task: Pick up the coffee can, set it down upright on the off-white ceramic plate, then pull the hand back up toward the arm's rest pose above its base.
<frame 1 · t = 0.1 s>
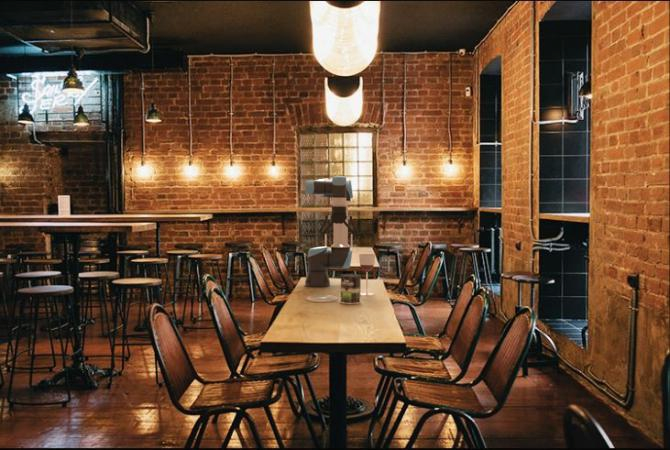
hand: (338, 246, 312), 28 cm above the table, fingers open, 13 cm apart
plate: (322, 299, 313), on the table
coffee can: (350, 302, 306), on the table
wineglass: (366, 294, 332), on the table
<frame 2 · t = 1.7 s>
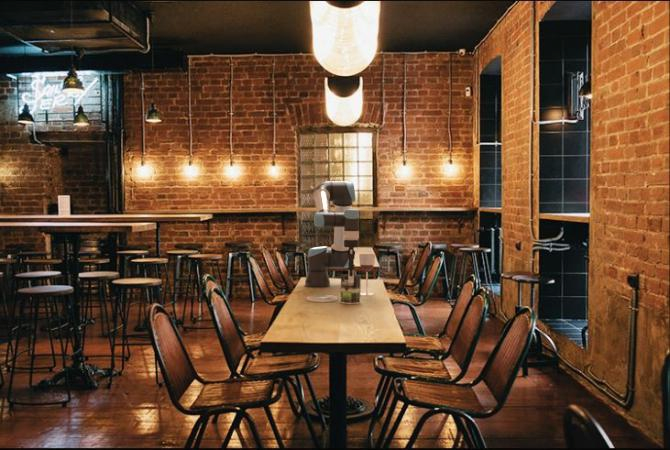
hand: (350, 281, 305), 11 cm above the table, fingers open, 13 cm apart
nothing on the table moved.
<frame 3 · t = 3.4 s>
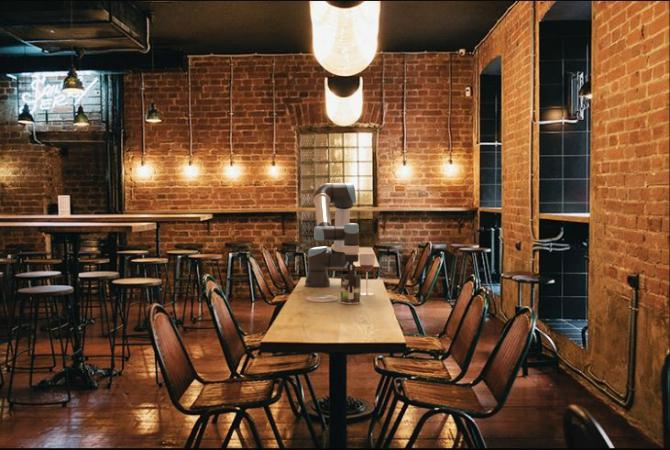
hand: (350, 297, 306), 3 cm above the table, fingers closed on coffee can, 10 cm apart
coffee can: (350, 302, 306), on the table, touching gripper
everything else where it was.
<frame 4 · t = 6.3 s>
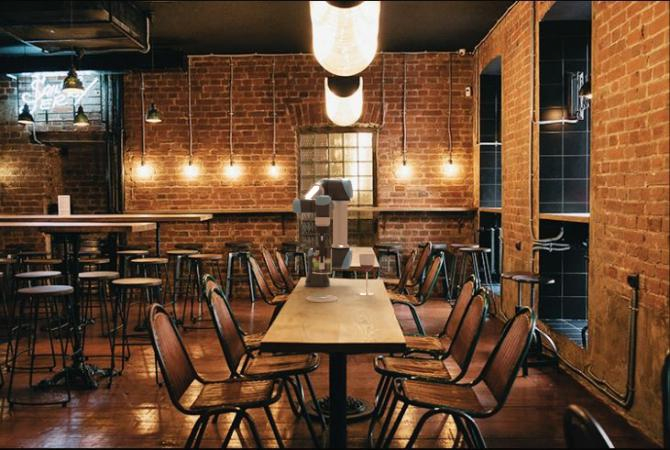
hand: (322, 267, 312), 17 cm above the table, fingers closed on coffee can, 10 cm apart
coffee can: (322, 273, 312), point 14 cm above the table, touching gripper
everything else where it was.
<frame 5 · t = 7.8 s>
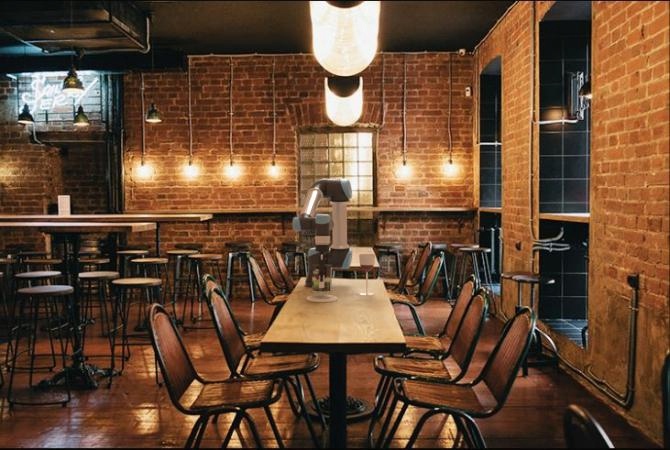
hand: (322, 286, 313), 7 cm above the table, fingers closed on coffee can, 10 cm apart
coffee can: (321, 291, 313), point 4 cm above the table, touching gripper
everything else where it was.
when the fingers open (5 cm above the table, at t = 9.2 s): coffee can drops 1 cm, resting on plate.
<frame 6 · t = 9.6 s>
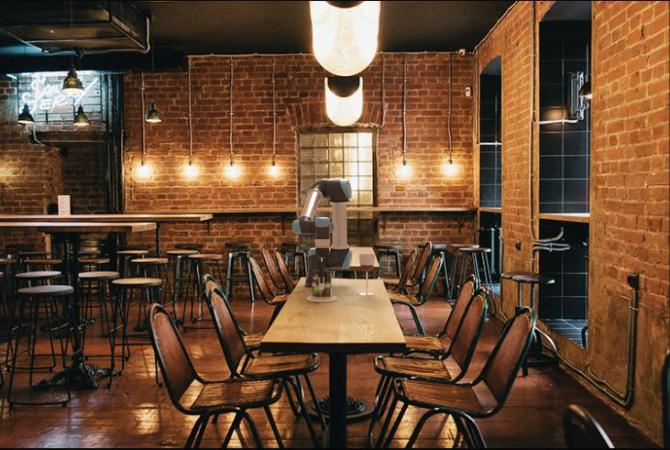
hand: (322, 287, 313), 6 cm above the table, fingers open, 13 cm apart
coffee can: (322, 297, 313), point 1 cm above the table, touching plate
everything else where it was.
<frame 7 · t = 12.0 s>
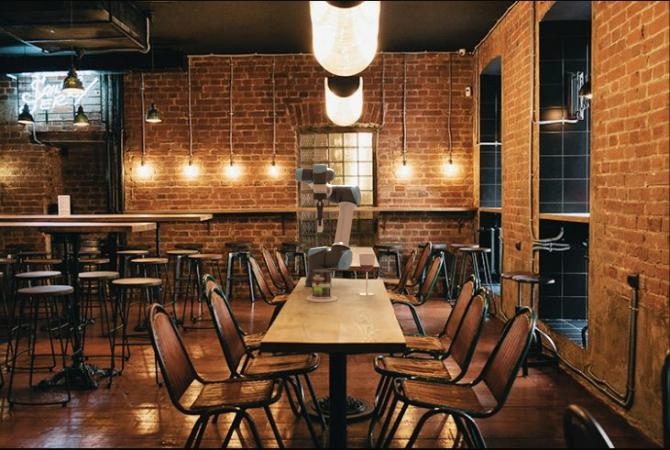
hand: (320, 231, 329), 35 cm above the table, fingers open, 13 cm apart
nothing on the table moved.
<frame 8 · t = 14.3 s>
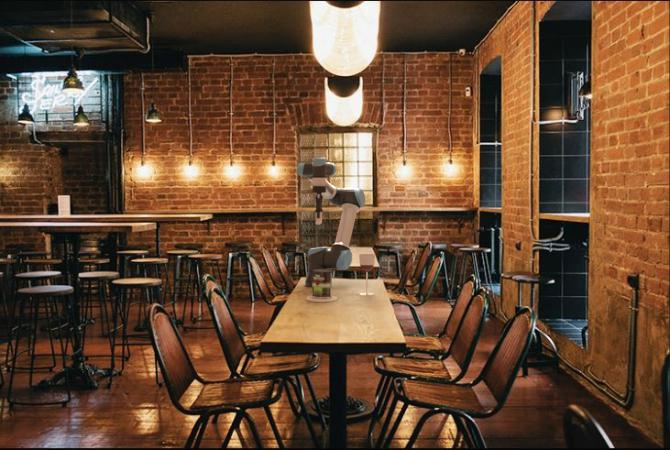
hand: (318, 223, 333), 39 cm above the table, fingers open, 13 cm apart
nothing on the table moved.
at the end: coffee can 0.0 cm from the plate (horizontally); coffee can tilted 1°; the gripper is holding nothing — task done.
